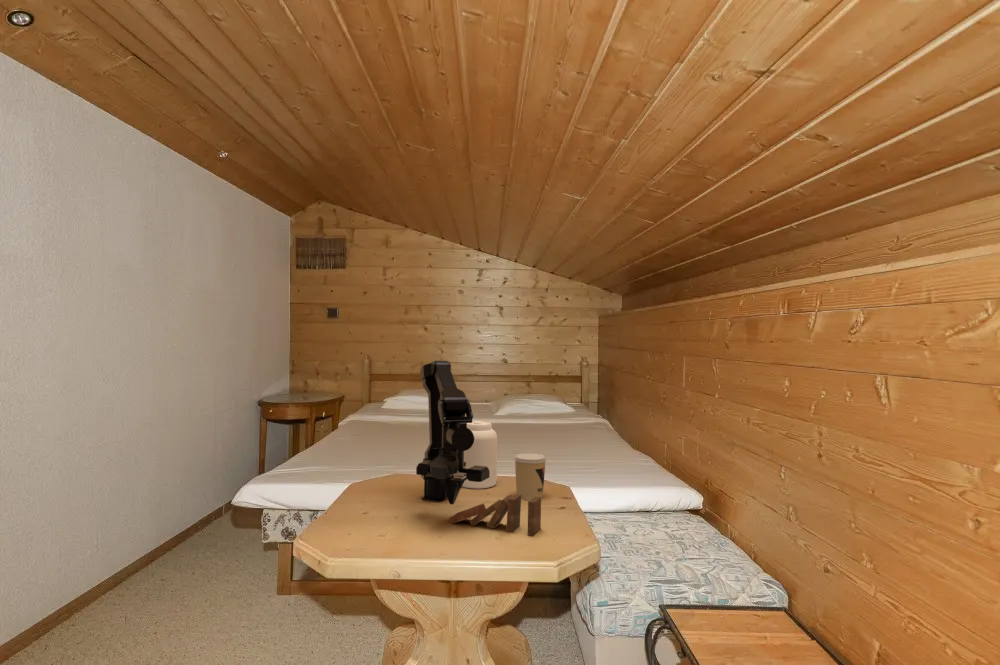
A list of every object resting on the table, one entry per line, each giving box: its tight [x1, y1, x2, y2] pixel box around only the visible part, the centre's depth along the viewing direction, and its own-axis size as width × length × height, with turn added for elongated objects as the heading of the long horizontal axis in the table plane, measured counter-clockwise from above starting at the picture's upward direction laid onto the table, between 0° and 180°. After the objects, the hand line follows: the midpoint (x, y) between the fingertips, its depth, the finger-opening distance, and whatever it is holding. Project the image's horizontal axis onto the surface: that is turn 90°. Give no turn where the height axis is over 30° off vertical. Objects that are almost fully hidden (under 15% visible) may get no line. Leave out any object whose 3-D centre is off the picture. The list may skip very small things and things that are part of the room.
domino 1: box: [448, 503, 487, 525], centre depth 144 cm, size 2×5×8 cm
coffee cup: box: [514, 452, 547, 501], centre depth 169 cm, size 9×9×12 cm
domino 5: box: [527, 497, 542, 537], centre depth 138 cm, size 2×5×8 cm, turn 157°
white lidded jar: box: [462, 420, 498, 490], centre depth 183 cm, size 12×12×20 cm
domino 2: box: [469, 499, 502, 527], centre depth 143 cm, size 2×5×8 cm
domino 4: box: [506, 493, 522, 534], centre depth 140 cm, size 2×5×8 cm, turn 158°
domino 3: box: [487, 494, 513, 530], centre depth 142 cm, size 2×5×8 cm
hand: (452, 503), depth 147 cm, fingers closed
